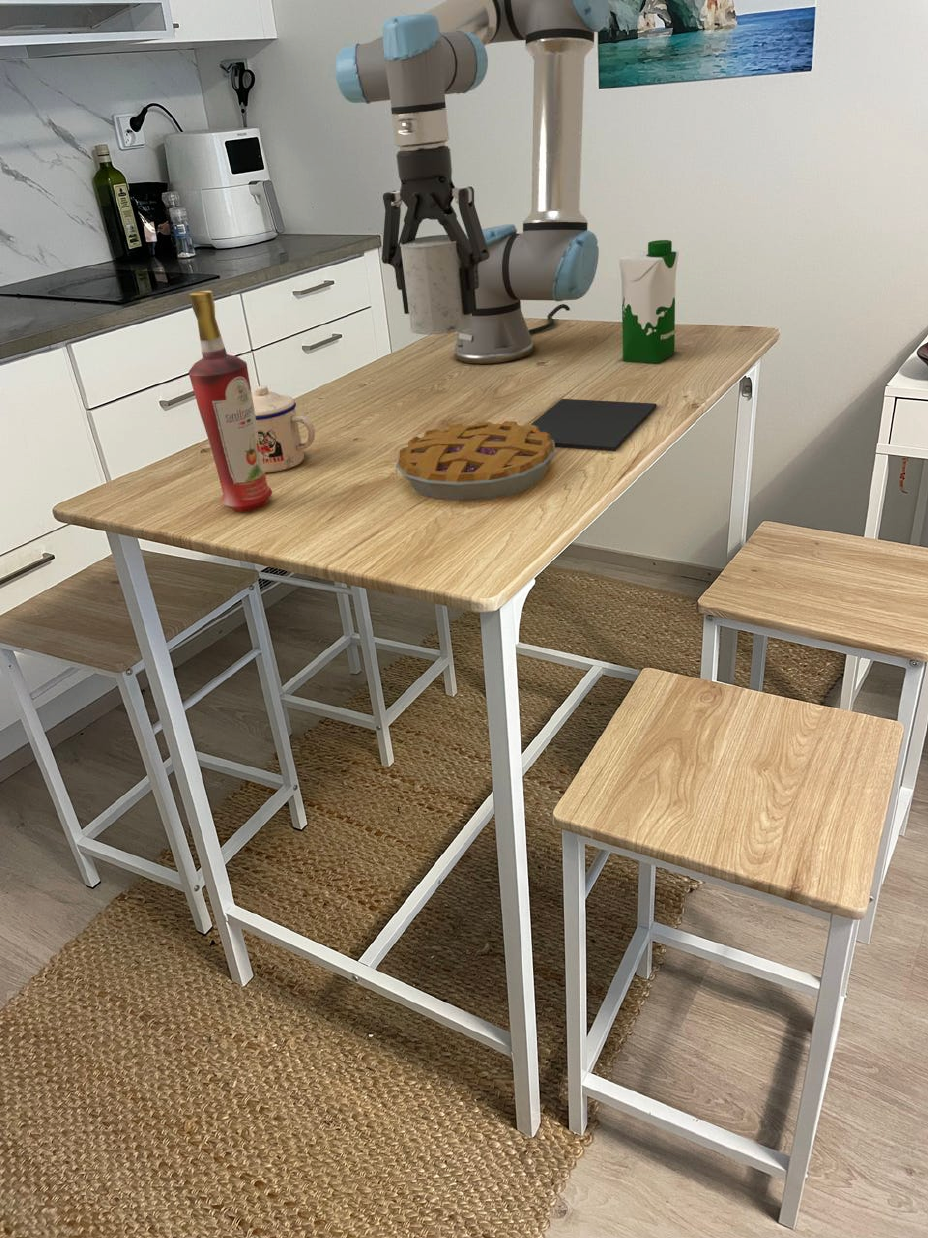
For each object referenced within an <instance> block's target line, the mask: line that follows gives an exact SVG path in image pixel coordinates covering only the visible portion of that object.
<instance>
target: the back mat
mask: <svg viewBox="0 0 928 1238" xmlns="http://www.w3.org/2000/svg"><path fill="white" fill-rule="evenodd" d="M657 405H658V403H656V402H655V403H652V402H637V401H636V402H634V401H633V402H631V401H613V400H597V399H596V400H594V399H575V398H574V399H573V398H561V399H559V400H558V401H557V402H556V403H555V404H554V405H552V406H551V407H549V408H548V409H547V410H546V411H545V412H544V413H543V414H541V415H540V416H539V417H538V418H536V419H535V420H534V421H533V422H532V423H529V424H530V425H534V426H538V427H539V430H540V432H547V433H548V434H550V437H551V439H552V440H553V441H554V442H555V448H569V449H582V450H583V449H584V450H596V451H610V452H615V451H617V450H618V448H620V446H621V445H622V444H623V443H625V441H626V440H627V439H628V438H629V437H630V436H631V435H632V434H633V433H634V432H635V431H636V430H637V428H638V427H639V426H640V425H641V424H642V423H644V421H645V420H646V419H647V418H648V417H649V416H650V415H651V414H652V413H653V412H654V411H655V409H657V407H658V406H657Z"/></svg>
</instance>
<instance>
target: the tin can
mask: <svg viewBox="0 0 928 1238" xmlns="http://www.w3.org/2000/svg"><path fill="white" fill-rule="evenodd" d="M400 246H401V253H402V261H403V269H404V277H405V285H406V294H407V302H408V310H409V314H408V316H409V326H410V327H409V330H410V332H412V333H413V334H416V335H443V334H451V333H455V332H459V331H460V330H463V329H466V328H468V327H470V326H472V324H473V321H472V314H469V315H464V312H463V301H462V291H461V280H460V270H459V268H462V266H463V265H464V264H463V262H462V260H461V258H460V257H459V255H458V253H457V249H456V241H454V242H451V240H450V238H449V237H448V235H447V234H437V235H436V234H435V235H427V236H420V237H415V240H414V241H412V242H409V243H406V244H402V242H401V243H400Z"/></svg>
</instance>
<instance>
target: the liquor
mask: <svg viewBox="0 0 928 1238" xmlns="http://www.w3.org/2000/svg"><path fill="white" fill-rule="evenodd" d="M189 298H190V302H191V307H192V310H193V312H194V316H195V317H196V321H197V328H198V333H199V340H200V346H201V355H202V358H201V359H199V360H198V361H196V362H195V363H194V364H192V366H191V368H190V369H189V370H188V376H189V379H190V383H191V386H192V389H193V393H194V396H195V400H196V404H197V408H198V411H199V415H200V418H201V422H202V424H203V427H204V430H205V433H206V437H207V439H208V443H209V447H210V450H211V455H212V456H213V461H214V465H215V468H216V473H217V474H218V479H219V483H220V487H221V491H222V497H221V503H222V504H223V505H225V506H226V507H228V508H229V509H231V510H232V511H235V512H237V513H245V512H247V513H248V512H251V511H255V510H258V509H260V508H262V507H263V506H265V504H266V503H267V502H268V500H269V499H270V497H271V496H272V495H273V490H272V488H270V487H269V486H268V482H267V481H268V480H267V475H266V472H265V470H264V465H263V460H262V454H261V448H260V443H259V437H258V431H257V424H256V417H255V410H254V404H253V398H252V395H253V392H252V388H251V382H250V376H249V370H248V363H247V362H246V361H245V360H244V359H242V358H240V357H239V356H237V355H232V354H228V353H227V350H226V347H225V343H224V340H223V337H222V334H221V331H220V328H219V325H218V321H217V319H216V305H215V300H214V296H213V292H212V290H201V291H200V290H199V291H194V292H192V293H191V292H190V293H189Z"/></svg>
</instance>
